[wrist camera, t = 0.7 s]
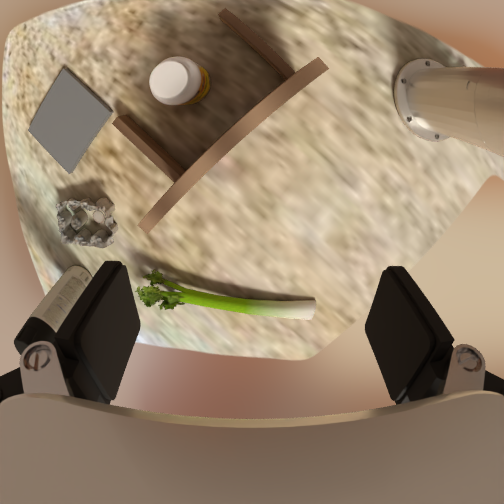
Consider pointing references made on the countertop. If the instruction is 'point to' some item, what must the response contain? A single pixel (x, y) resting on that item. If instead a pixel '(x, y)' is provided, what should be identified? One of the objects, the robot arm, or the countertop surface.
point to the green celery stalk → (223, 301)
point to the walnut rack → (231, 136)
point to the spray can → (53, 308)
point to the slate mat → (69, 120)
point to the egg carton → (81, 218)
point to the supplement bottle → (179, 81)
